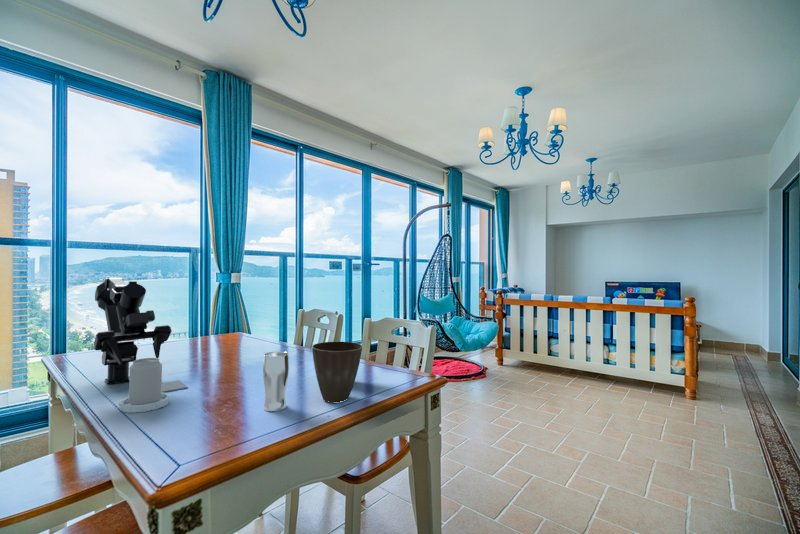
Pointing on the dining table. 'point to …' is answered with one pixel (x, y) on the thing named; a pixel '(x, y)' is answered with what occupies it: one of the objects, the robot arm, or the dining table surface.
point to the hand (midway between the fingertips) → (140, 360)
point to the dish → (130, 408)
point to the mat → (172, 386)
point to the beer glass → (275, 380)
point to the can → (145, 381)
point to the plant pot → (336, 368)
